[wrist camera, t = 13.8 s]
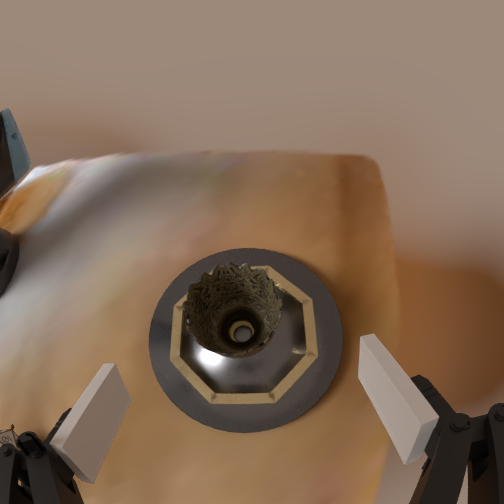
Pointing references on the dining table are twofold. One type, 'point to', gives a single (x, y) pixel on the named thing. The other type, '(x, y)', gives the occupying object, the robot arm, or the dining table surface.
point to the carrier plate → (259, 365)
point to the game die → (9, 437)
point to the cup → (233, 310)
